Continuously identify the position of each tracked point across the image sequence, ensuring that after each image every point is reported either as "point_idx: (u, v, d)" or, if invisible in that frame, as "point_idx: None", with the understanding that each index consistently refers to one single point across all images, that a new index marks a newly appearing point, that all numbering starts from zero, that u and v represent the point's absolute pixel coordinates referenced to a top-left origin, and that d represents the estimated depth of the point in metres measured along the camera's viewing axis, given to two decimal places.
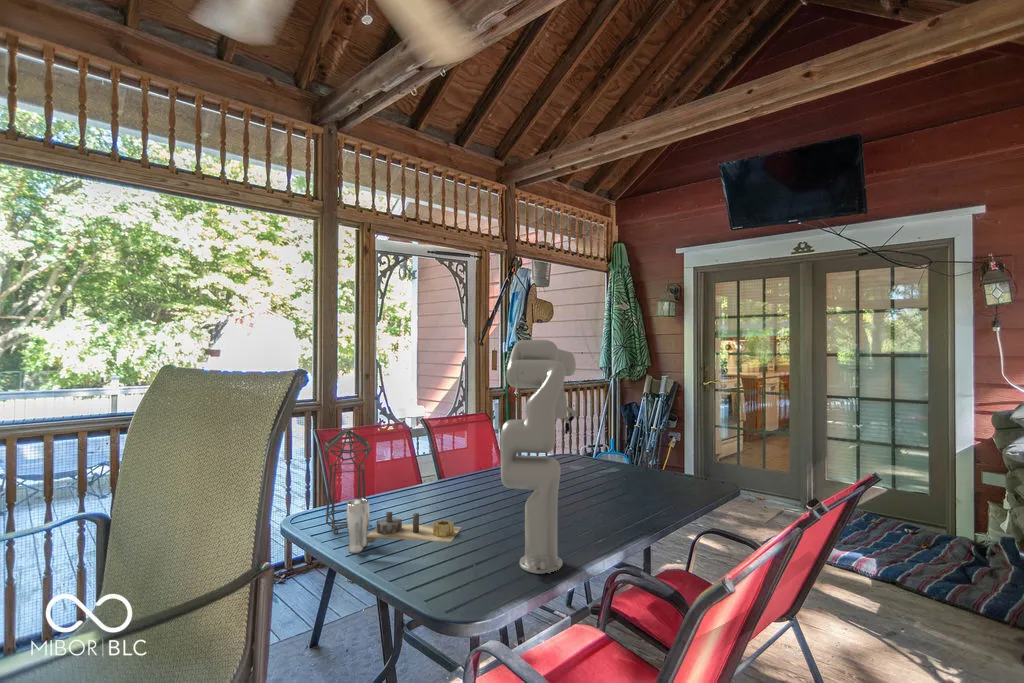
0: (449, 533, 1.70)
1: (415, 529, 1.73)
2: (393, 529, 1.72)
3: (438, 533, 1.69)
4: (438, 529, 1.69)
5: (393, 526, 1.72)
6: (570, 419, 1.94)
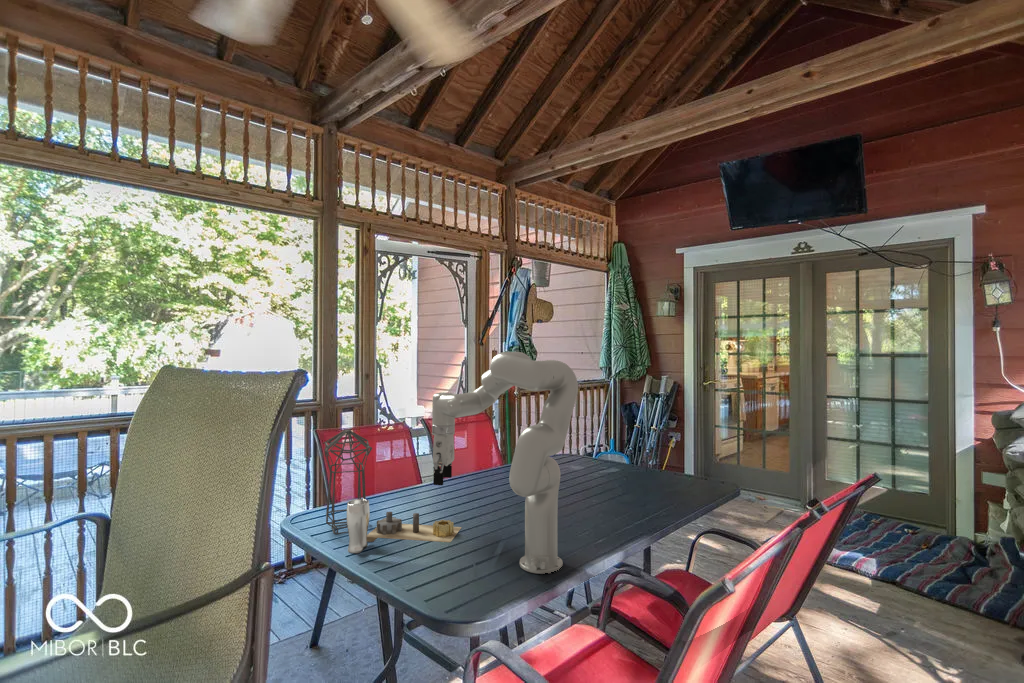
0: (449, 533, 1.70)
1: (415, 529, 1.73)
2: (393, 529, 1.72)
3: (438, 533, 1.69)
4: (438, 529, 1.69)
5: (393, 526, 1.72)
6: None
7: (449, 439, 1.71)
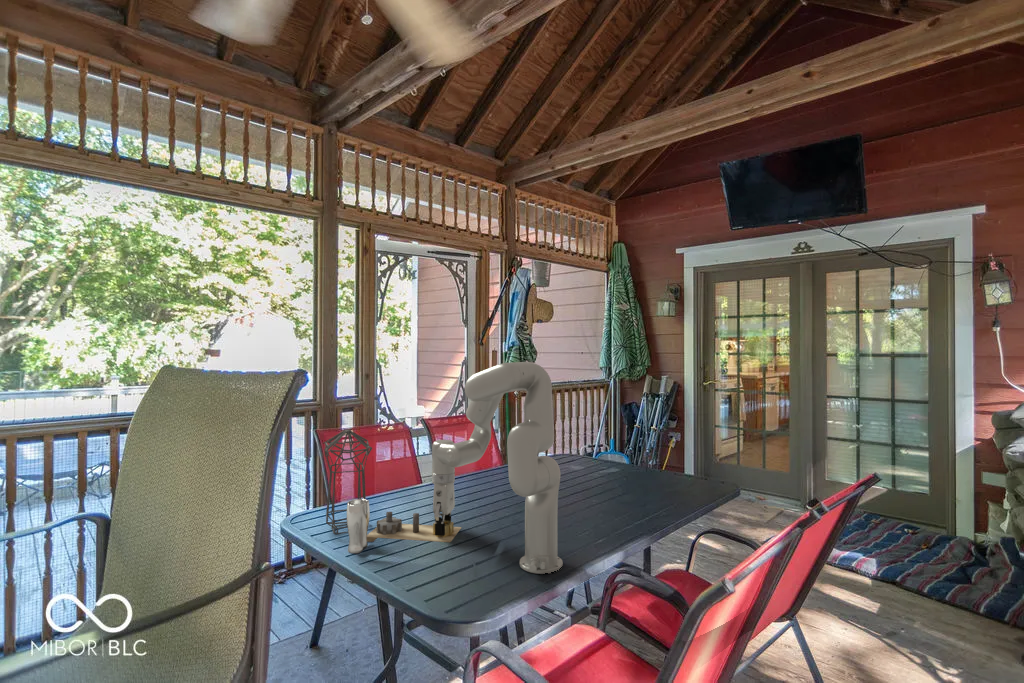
0: (449, 533, 1.70)
1: (415, 529, 1.73)
2: (393, 529, 1.72)
3: None
4: None
5: (393, 526, 1.72)
6: None
7: (449, 487, 1.70)
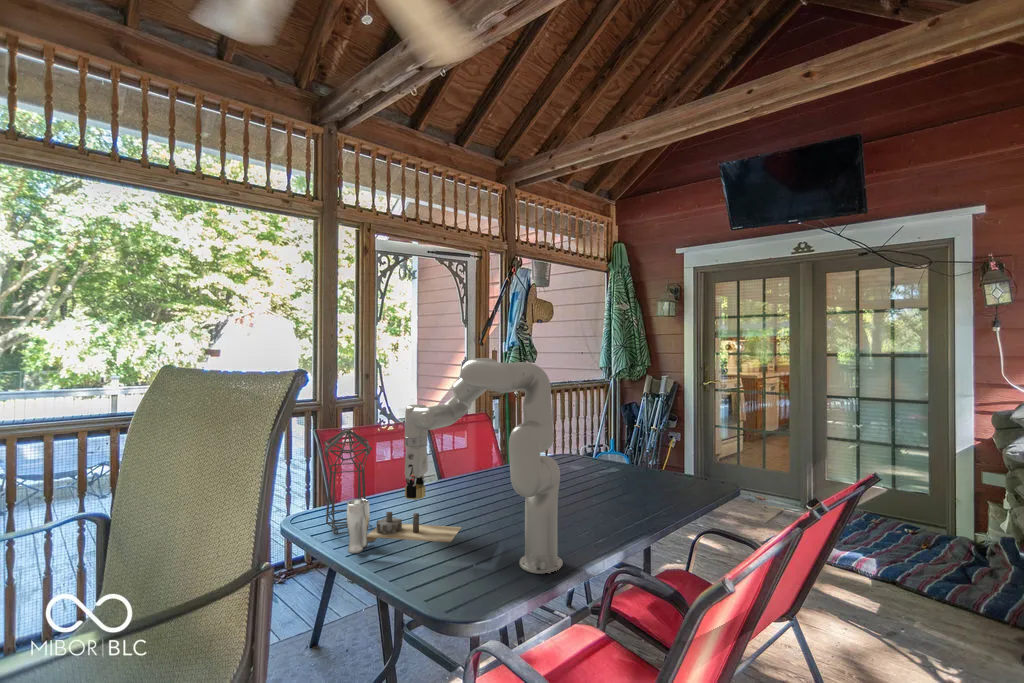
0: (420, 496, 1.72)
1: (415, 529, 1.73)
2: (393, 529, 1.72)
3: None
4: None
5: (393, 526, 1.72)
6: (422, 474, 1.79)
7: (421, 451, 1.72)
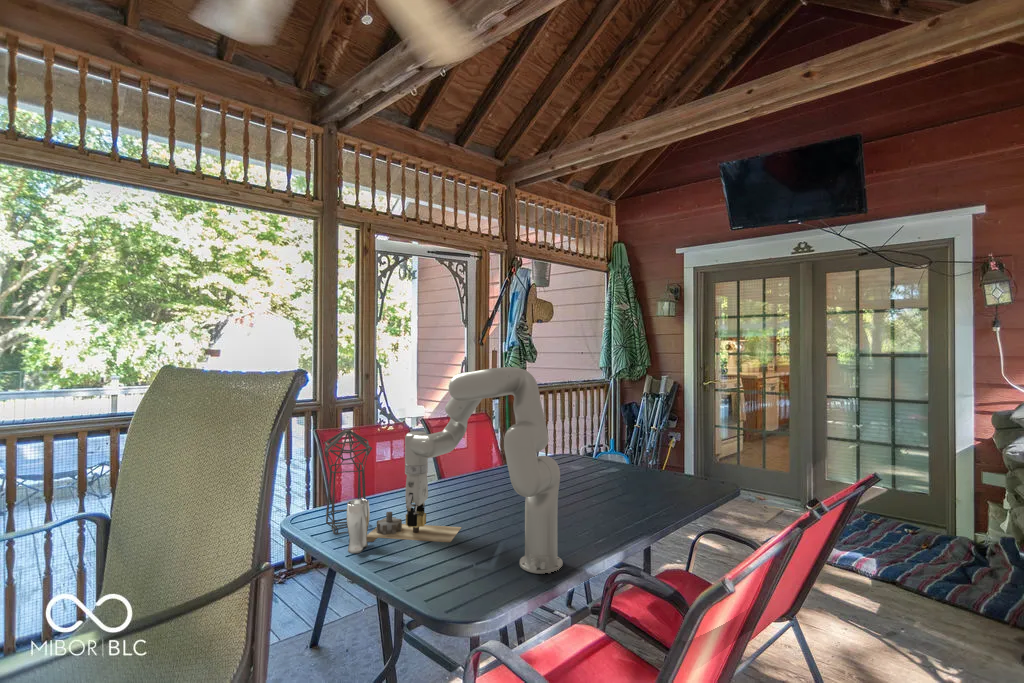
0: (421, 524, 1.72)
1: (415, 529, 1.73)
2: (393, 529, 1.72)
3: None
4: None
5: (393, 526, 1.72)
6: (423, 501, 1.79)
7: (422, 478, 1.72)
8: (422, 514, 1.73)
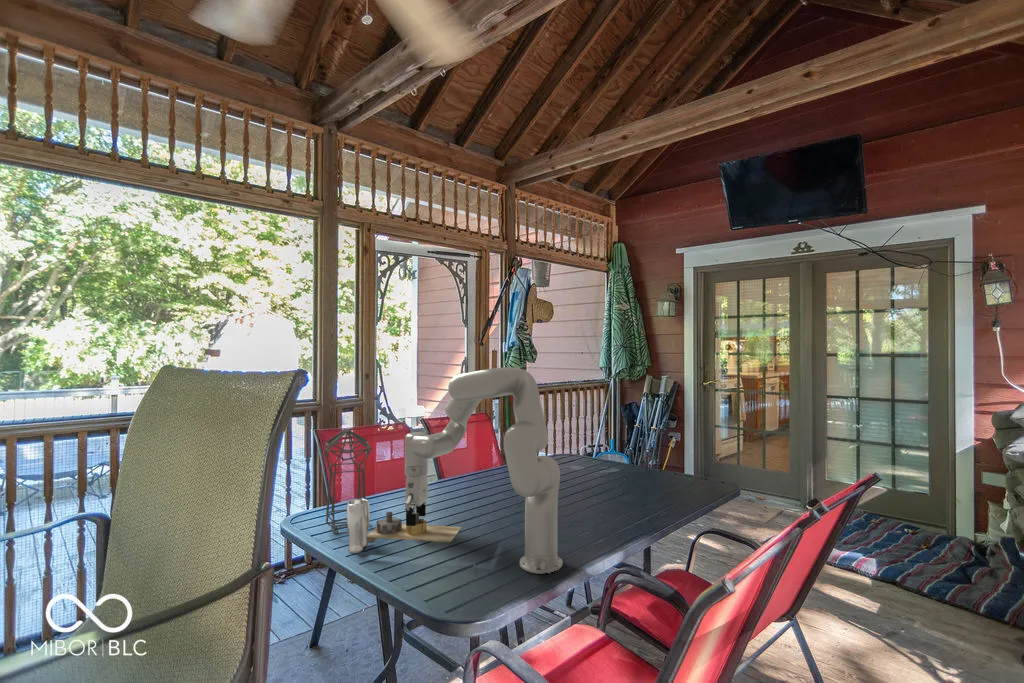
0: (422, 531, 1.72)
1: None
2: (393, 529, 1.72)
3: (411, 531, 1.71)
4: (411, 527, 1.71)
5: (393, 526, 1.72)
6: None
7: (422, 479, 1.72)
8: (422, 522, 1.73)
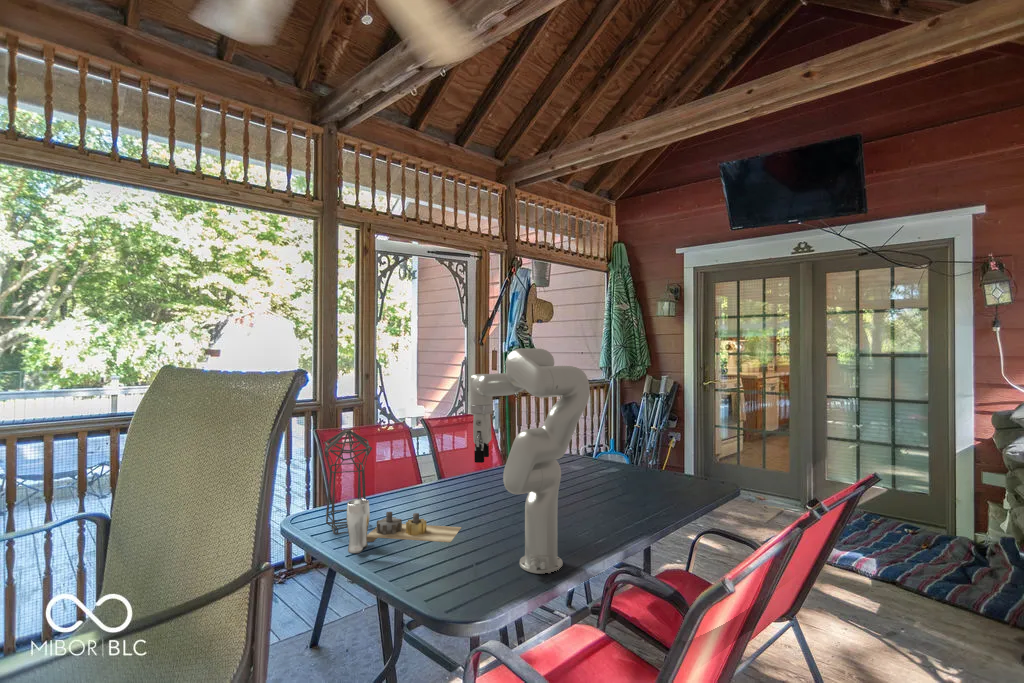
0: (422, 531, 1.72)
1: None
2: (393, 529, 1.72)
3: (411, 531, 1.71)
4: (411, 527, 1.71)
5: (393, 526, 1.72)
6: None
7: (488, 418, 1.76)
8: (422, 522, 1.73)
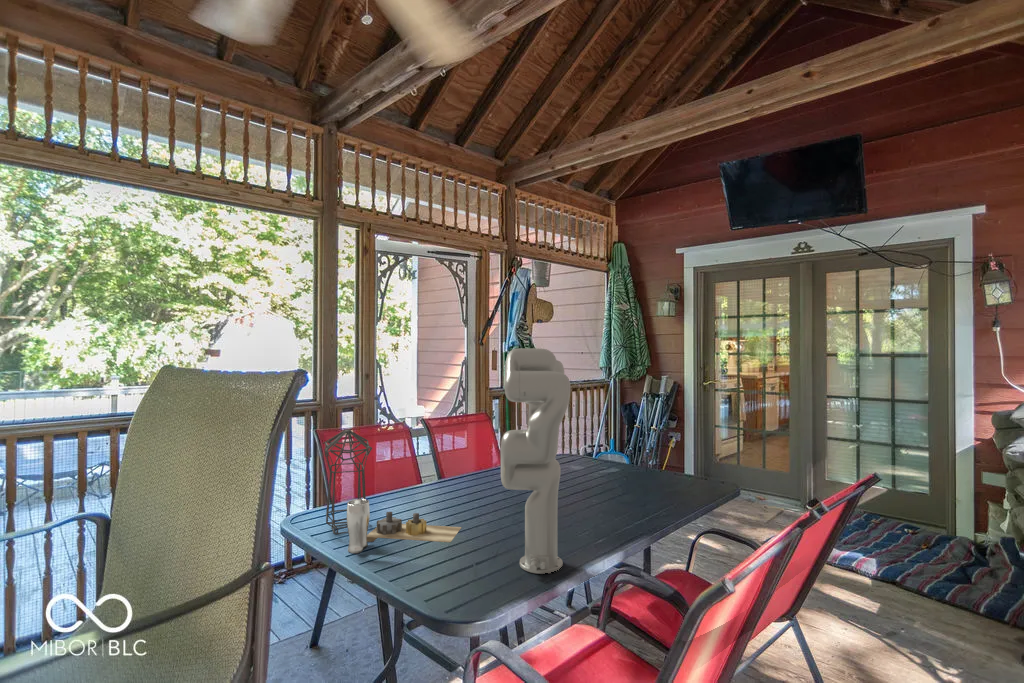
0: (422, 531, 1.72)
1: None
2: (393, 529, 1.72)
3: (411, 531, 1.71)
4: (411, 527, 1.71)
5: (393, 526, 1.72)
6: None
7: None
8: (422, 522, 1.73)
